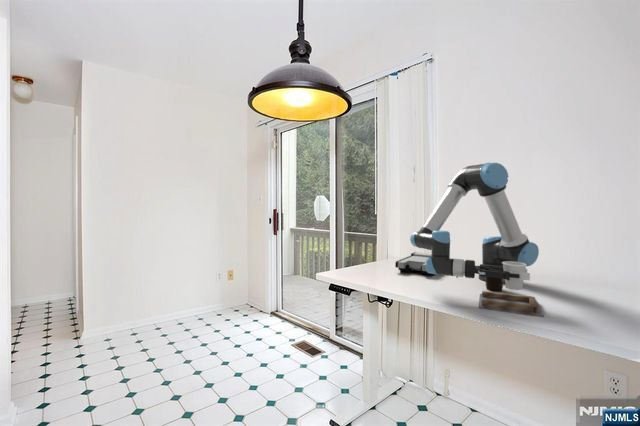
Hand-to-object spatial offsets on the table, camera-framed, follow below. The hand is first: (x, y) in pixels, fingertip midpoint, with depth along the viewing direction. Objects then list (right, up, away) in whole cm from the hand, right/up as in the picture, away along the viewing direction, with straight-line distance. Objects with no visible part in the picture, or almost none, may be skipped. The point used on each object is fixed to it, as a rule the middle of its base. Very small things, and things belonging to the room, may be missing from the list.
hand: (528, 274), depth 122 cm
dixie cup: (-4, -6, +2) cm, 8 cm away
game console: (-20, -11, +67) cm, 71 cm away
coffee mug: (+2, -12, +25) cm, 28 cm away
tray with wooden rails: (-6, -13, +4) cm, 15 cm away
